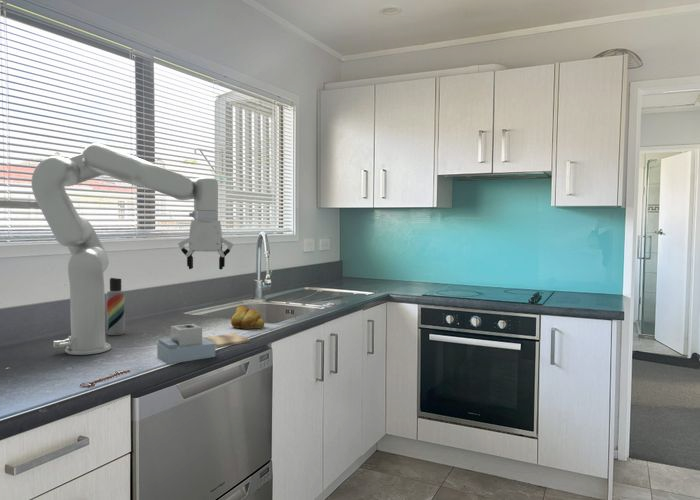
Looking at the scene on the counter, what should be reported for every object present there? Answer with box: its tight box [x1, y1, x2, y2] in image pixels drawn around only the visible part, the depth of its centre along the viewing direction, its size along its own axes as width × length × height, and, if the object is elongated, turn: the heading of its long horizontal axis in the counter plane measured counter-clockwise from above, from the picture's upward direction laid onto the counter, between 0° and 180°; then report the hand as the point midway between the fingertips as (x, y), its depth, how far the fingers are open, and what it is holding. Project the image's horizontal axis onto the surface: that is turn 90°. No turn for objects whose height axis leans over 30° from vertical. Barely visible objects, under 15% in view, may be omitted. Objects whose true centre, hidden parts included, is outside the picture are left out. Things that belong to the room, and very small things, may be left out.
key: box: [80, 369, 131, 388], centre depth 136 cm, size 6×1×15 cm
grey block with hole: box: [170, 323, 203, 347], centre depth 158 cm, size 7×7×5 cm
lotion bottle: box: [106, 277, 126, 336], centre depth 187 cm, size 6×6×20 cm
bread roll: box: [230, 305, 265, 330], centre depth 201 cm, size 13×10×8 cm
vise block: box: [156, 328, 216, 365], centre depth 158 cm, size 14×10×8 cm
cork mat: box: [202, 333, 251, 348], centre depth 179 cm, size 12×12×1 cm
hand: (206, 268), depth 172 cm, fingers open, 9 cm apart
